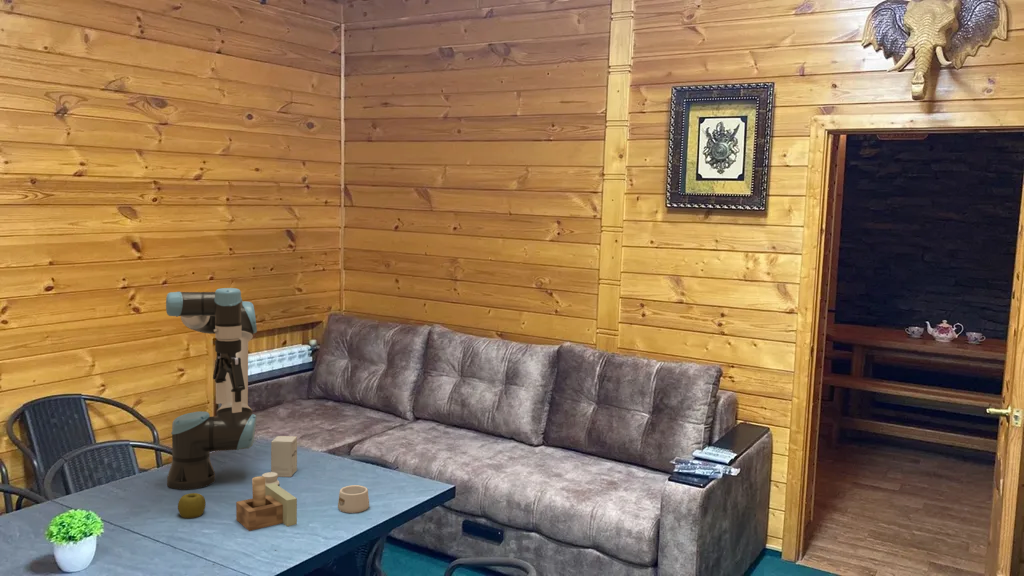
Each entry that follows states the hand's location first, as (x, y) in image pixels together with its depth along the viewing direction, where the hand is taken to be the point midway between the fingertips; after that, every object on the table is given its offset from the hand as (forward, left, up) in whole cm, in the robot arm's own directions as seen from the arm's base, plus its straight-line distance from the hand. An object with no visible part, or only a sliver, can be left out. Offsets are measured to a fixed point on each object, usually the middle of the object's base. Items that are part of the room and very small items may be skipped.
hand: (228, 407), depth 244 cm
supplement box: (-21, +27, -32) cm, 47 cm away
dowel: (+19, +2, -29) cm, 35 cm away
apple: (+2, -12, -32) cm, 34 cm away
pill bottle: (+5, +11, -32) cm, 34 cm away
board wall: (+19, -4, -32) cm, 37 cm away
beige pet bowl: (+21, +31, -32) cm, 49 cm away
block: (+19, +2, -30) cm, 36 cm away
